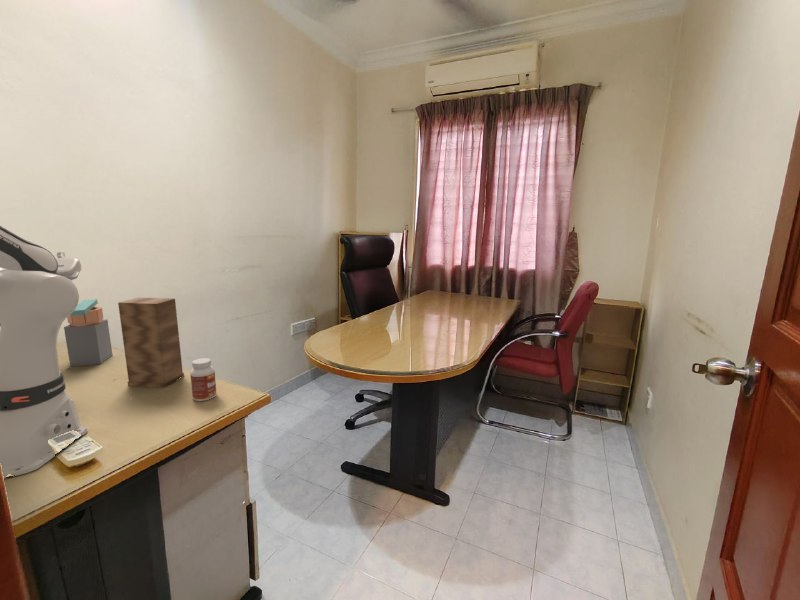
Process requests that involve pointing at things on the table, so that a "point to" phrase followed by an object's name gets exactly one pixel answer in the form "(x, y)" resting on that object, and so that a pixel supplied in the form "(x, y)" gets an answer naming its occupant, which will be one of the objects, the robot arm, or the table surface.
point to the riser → (88, 344)
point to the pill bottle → (203, 380)
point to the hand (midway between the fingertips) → (41, 254)
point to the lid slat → (84, 307)
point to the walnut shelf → (151, 341)
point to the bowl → (87, 318)
